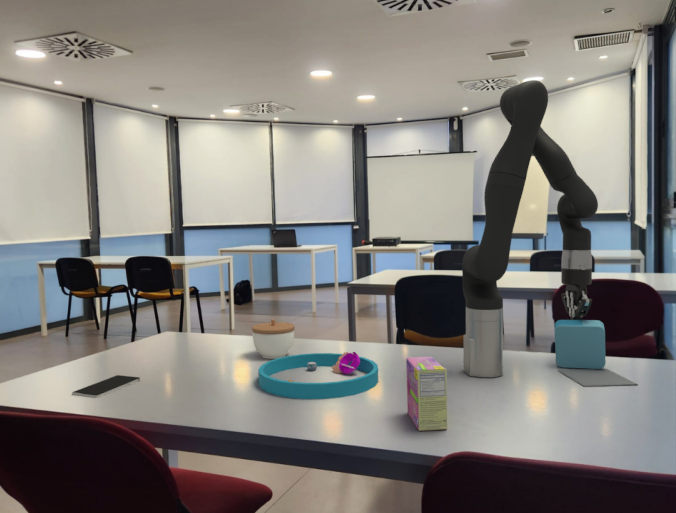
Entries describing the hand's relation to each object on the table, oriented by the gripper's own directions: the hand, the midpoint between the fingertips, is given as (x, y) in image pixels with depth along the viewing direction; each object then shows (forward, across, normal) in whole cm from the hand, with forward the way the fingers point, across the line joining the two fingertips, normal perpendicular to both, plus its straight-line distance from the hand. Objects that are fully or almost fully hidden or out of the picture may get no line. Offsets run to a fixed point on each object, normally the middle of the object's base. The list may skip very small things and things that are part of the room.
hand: (575, 330), depth 150 cm
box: (+10, +38, -49) cm, 63 cm away
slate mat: (+10, +13, -1) cm, 16 cm away
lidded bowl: (+10, -21, -83) cm, 86 cm away
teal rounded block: (+9, +3, 0) cm, 9 cm away
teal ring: (+10, +7, -70) cm, 71 cm away
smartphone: (+10, +7, -122) cm, 123 cm away
